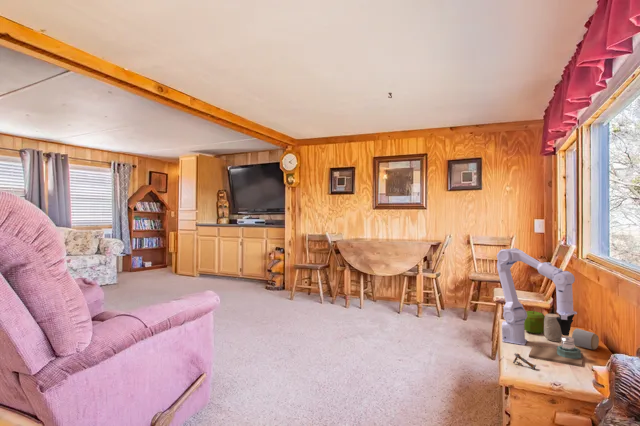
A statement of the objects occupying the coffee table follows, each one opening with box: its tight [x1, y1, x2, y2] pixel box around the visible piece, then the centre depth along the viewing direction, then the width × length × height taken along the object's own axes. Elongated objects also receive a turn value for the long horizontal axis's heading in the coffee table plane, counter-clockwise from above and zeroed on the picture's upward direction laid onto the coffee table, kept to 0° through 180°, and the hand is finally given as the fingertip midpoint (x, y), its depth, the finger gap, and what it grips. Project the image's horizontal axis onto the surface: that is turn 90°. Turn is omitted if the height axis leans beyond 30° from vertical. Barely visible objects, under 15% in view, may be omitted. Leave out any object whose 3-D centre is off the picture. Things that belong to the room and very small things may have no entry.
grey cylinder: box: [571, 327, 600, 351], centre depth 160 cm, size 11×8×8 cm
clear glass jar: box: [560, 335, 575, 352], centre depth 149 cm, size 4×4×7 cm
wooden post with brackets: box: [512, 352, 537, 370], centre depth 142 cm, size 2×8×4 cm, turn 40°
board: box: [528, 345, 584, 367], centre depth 150 cm, size 18×14×4 cm
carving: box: [543, 313, 563, 343], centre depth 170 cm, size 6×8×12 cm
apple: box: [524, 310, 545, 335], centre depth 182 cm, size 11×11×11 cm
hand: (566, 332), depth 150 cm, fingers open, 7 cm apart
